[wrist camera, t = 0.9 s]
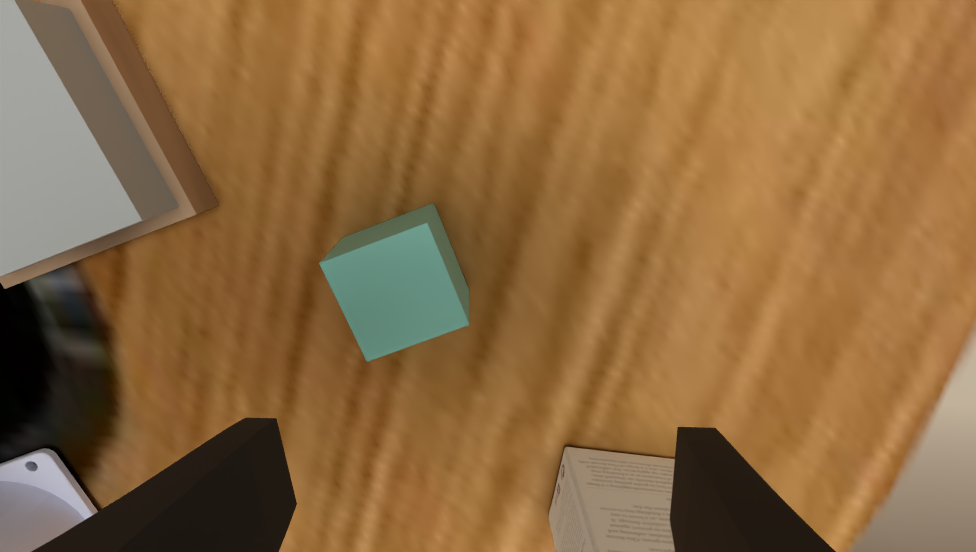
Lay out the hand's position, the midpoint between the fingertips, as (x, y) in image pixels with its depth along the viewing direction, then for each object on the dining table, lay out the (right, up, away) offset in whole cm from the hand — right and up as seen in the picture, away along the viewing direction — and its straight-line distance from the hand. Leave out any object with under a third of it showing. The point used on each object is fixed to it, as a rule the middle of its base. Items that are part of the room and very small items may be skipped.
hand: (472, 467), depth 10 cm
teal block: (-3, +4, +13) cm, 14 cm away
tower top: (-15, +8, +10) cm, 20 cm away
